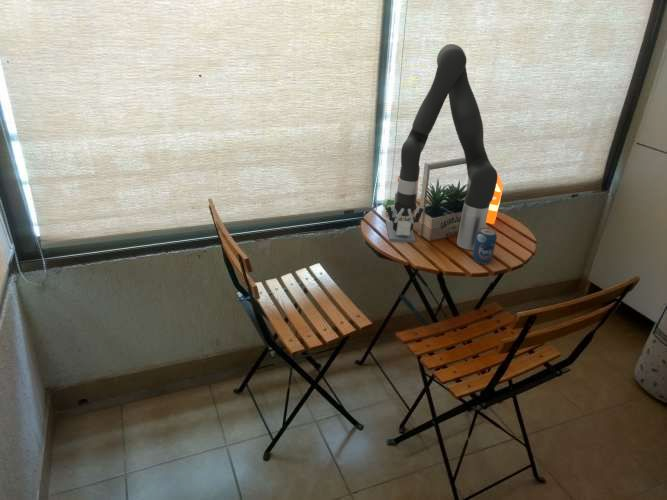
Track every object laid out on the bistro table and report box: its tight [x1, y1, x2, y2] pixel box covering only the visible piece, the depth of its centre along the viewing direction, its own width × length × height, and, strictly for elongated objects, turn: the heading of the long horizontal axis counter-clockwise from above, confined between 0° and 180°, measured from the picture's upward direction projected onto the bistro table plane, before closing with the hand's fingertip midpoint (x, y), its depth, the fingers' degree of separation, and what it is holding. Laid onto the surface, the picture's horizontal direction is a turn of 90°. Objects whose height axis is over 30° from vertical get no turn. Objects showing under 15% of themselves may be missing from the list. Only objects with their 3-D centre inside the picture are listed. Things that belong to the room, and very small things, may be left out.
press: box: [385, 191, 416, 243], centre depth 200 cm, size 10×16×14 cm, turn 0°
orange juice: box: [486, 172, 504, 225], centre depth 216 cm, size 8×9×20 cm
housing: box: [396, 215, 411, 235], centre depth 196 cm, size 5×5×7 cm
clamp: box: [384, 199, 394, 216], centre depth 217 cm, size 12×6×9 cm, turn 67°
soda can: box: [472, 227, 498, 265], centre depth 184 cm, size 7×7×12 cm
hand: (402, 230), depth 198 cm, fingers closed on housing, 5 cm apart
